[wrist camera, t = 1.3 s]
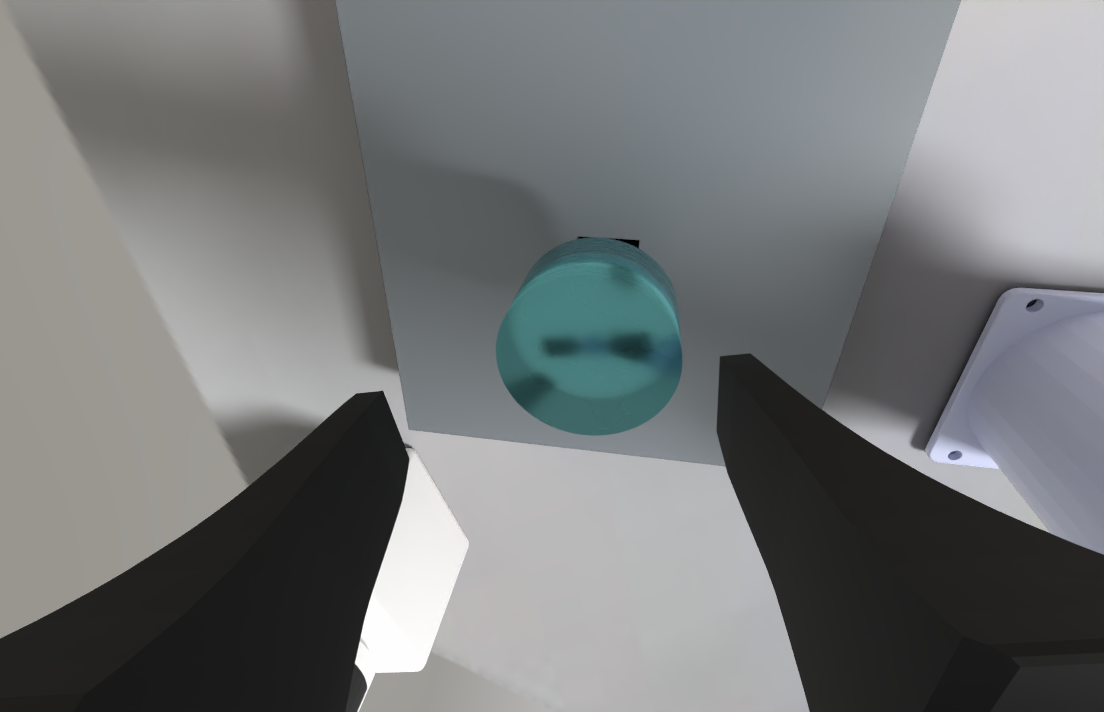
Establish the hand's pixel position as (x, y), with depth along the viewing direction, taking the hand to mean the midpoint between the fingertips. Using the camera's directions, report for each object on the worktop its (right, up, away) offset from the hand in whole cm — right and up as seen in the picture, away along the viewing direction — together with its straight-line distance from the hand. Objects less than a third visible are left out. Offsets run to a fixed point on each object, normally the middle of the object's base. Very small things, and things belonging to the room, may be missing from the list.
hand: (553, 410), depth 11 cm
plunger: (+2, +4, +6) cm, 8 cm away
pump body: (+2, +6, +9) cm, 11 cm away
